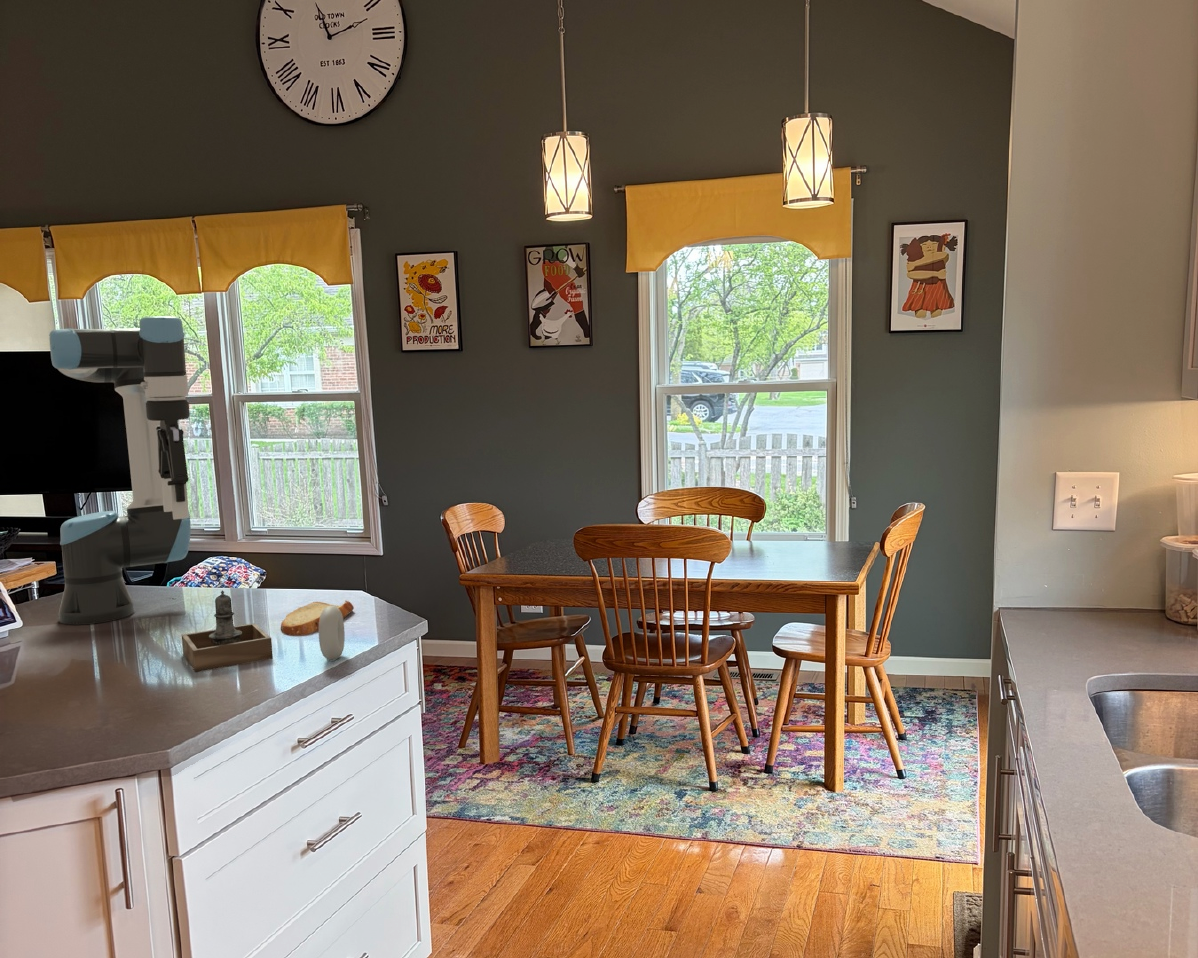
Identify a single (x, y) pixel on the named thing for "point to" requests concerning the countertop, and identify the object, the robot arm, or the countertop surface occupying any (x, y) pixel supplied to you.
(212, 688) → the countertop surface
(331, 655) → the donut
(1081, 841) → the countertop surface
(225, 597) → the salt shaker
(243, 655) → the box
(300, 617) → the slice of bread
